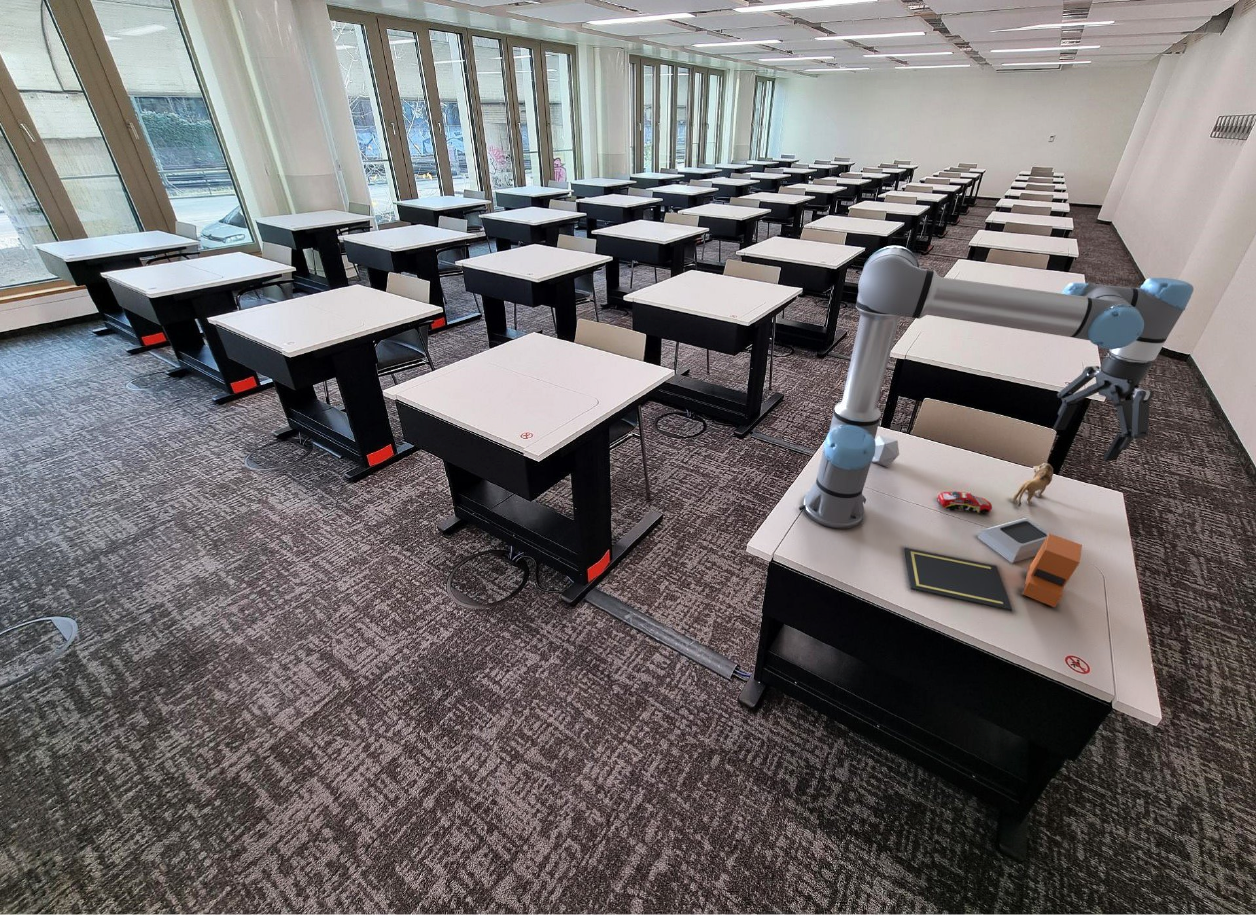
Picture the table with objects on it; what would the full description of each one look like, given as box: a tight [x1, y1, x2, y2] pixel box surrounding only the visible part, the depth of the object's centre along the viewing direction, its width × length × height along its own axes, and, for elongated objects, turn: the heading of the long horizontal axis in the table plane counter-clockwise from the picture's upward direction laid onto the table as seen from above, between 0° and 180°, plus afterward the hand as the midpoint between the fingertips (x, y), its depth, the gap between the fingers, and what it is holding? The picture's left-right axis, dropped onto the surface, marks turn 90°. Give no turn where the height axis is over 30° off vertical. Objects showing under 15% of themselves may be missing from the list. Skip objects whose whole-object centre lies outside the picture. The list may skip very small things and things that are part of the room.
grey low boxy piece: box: [977, 517, 1052, 564], centre depth 132 cm, size 10×4×15 cm
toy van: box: [1021, 532, 1083, 608], centre depth 116 cm, size 10×6×12 cm, turn 141°
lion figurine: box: [1011, 462, 1054, 508], centre depth 146 cm, size 15×5×9 cm, turn 131°
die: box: [871, 434, 900, 468], centre depth 161 cm, size 8×9×10 cm
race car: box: [936, 491, 993, 516], centre depth 144 cm, size 13×5×4 cm, turn 76°
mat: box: [903, 547, 1013, 612], centre depth 122 cm, size 20×14×1 cm
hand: (1082, 444), depth 122 cm, fingers open, 13 cm apart
